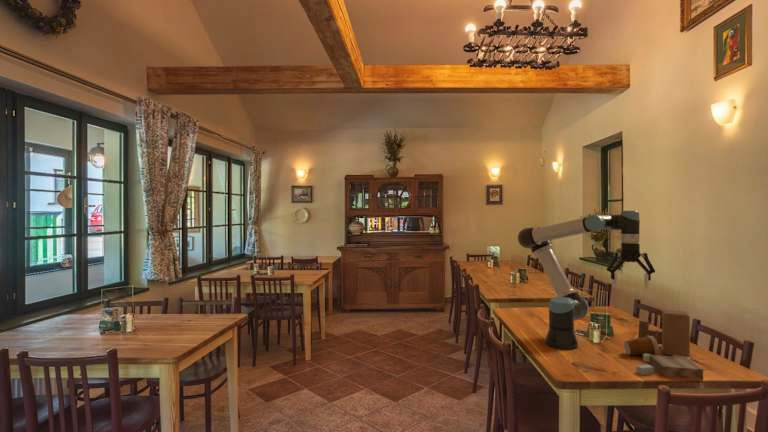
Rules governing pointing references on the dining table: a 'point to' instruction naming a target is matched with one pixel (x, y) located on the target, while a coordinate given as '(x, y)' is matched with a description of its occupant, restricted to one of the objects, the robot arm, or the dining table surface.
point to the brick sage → (646, 357)
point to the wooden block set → (649, 331)
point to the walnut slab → (676, 367)
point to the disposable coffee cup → (642, 346)
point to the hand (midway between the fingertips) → (630, 286)
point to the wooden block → (675, 333)
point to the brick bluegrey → (645, 369)
